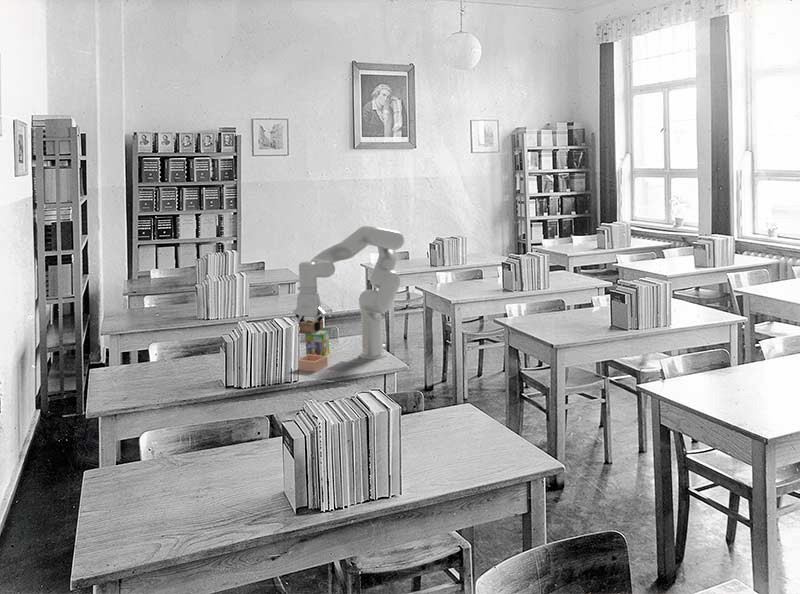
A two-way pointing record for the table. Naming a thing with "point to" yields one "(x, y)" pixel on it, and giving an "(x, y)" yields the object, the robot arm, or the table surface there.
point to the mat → (343, 366)
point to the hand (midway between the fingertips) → (310, 329)
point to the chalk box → (317, 343)
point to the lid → (309, 326)
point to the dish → (312, 363)
